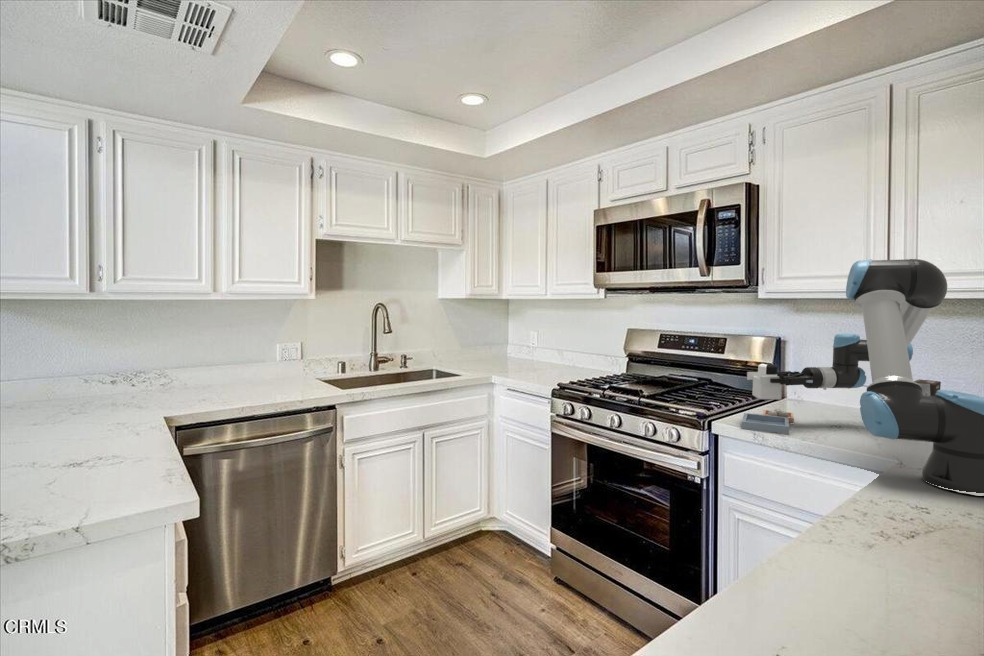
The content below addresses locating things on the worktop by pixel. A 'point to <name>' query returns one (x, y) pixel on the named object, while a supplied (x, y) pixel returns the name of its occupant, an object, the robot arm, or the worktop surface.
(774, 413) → the pebble
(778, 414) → the pebble
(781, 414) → the pebble
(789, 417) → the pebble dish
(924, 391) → the coffee box
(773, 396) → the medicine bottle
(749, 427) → the grey bin
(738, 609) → the worktop surface
